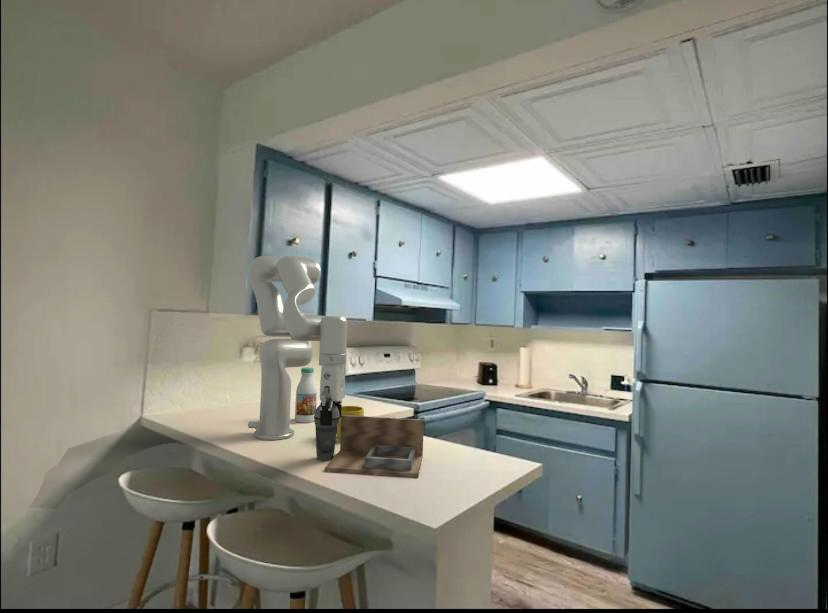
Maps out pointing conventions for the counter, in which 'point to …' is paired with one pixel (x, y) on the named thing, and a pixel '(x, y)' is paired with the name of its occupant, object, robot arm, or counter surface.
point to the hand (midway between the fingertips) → (331, 421)
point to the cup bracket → (379, 446)
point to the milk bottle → (306, 397)
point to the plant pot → (352, 412)
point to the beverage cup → (326, 435)
